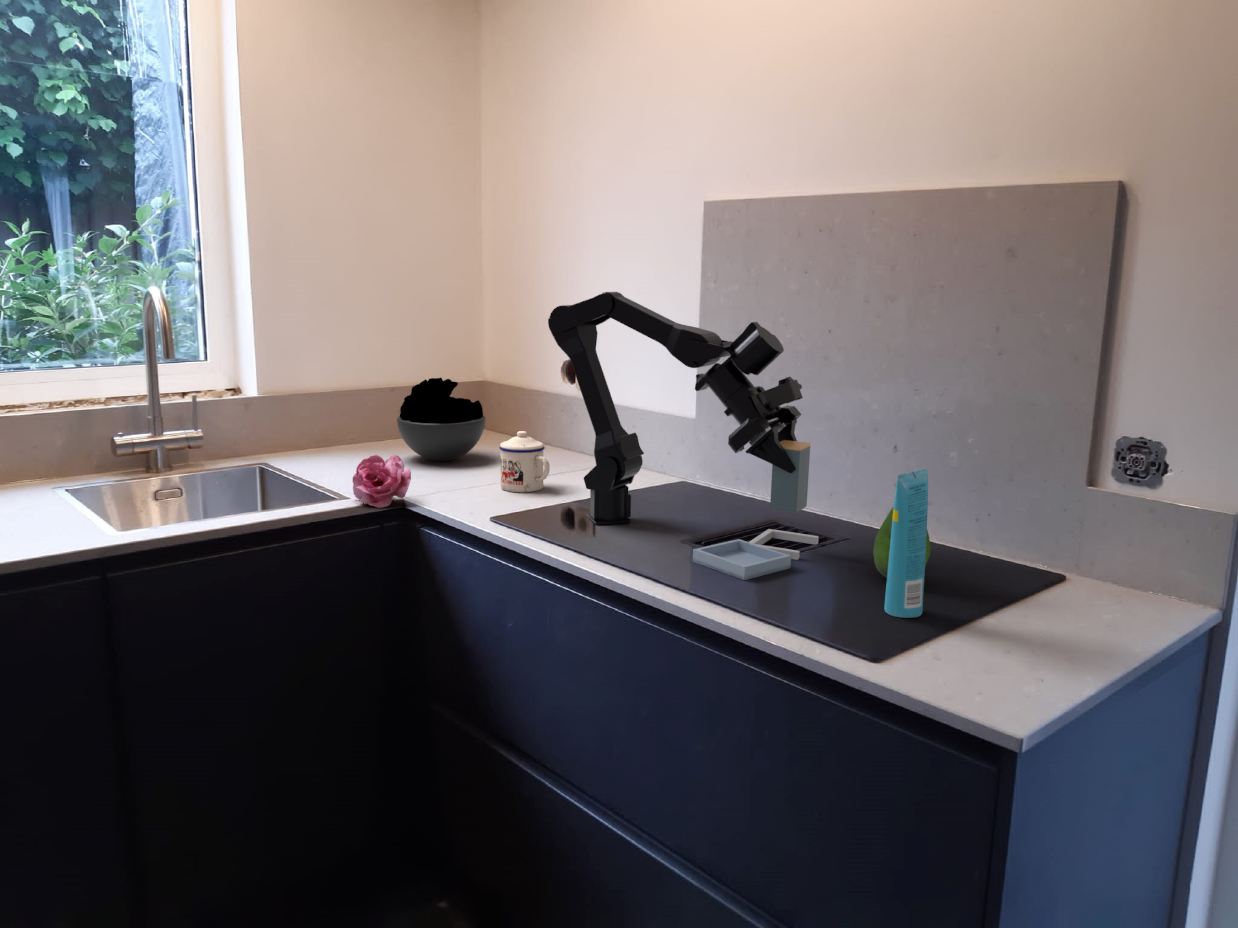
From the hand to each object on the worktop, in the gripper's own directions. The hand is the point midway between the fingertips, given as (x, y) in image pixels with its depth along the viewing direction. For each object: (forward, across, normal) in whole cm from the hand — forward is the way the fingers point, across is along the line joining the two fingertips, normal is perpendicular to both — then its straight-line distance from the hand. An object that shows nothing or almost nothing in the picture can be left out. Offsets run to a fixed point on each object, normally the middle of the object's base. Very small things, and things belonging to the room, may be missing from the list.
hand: (799, 468), depth 152 cm
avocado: (+23, -7, -3) cm, 24 cm away
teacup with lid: (-33, +12, +53) cm, 63 cm away
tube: (+25, -20, -6) cm, 33 cm away
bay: (+9, 0, +10) cm, 14 cm away
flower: (-45, -12, +65) cm, 80 cm away
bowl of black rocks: (-56, +26, +76) cm, 98 cm away
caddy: (+4, 0, +6) cm, 7 cm away
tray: (+7, -12, +12) cm, 19 cm away
